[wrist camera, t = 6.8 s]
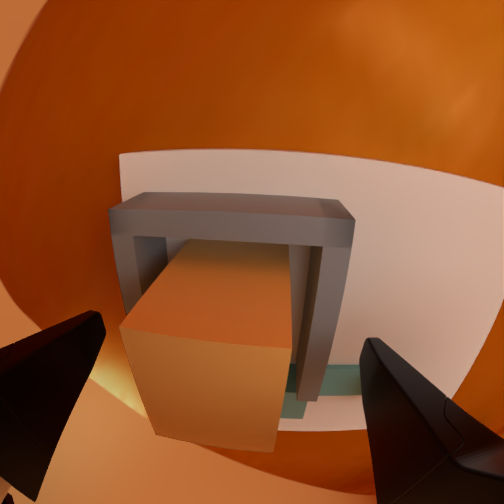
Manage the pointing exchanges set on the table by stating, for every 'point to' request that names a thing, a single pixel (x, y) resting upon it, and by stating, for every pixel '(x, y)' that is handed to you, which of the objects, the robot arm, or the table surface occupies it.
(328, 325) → the end holder
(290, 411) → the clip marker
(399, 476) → the robot arm
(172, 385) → the block
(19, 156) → the table surface
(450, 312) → the board
